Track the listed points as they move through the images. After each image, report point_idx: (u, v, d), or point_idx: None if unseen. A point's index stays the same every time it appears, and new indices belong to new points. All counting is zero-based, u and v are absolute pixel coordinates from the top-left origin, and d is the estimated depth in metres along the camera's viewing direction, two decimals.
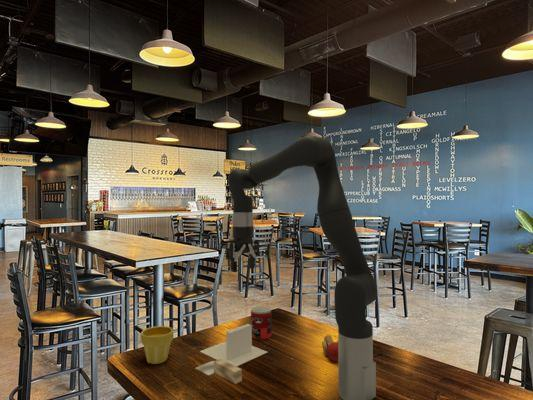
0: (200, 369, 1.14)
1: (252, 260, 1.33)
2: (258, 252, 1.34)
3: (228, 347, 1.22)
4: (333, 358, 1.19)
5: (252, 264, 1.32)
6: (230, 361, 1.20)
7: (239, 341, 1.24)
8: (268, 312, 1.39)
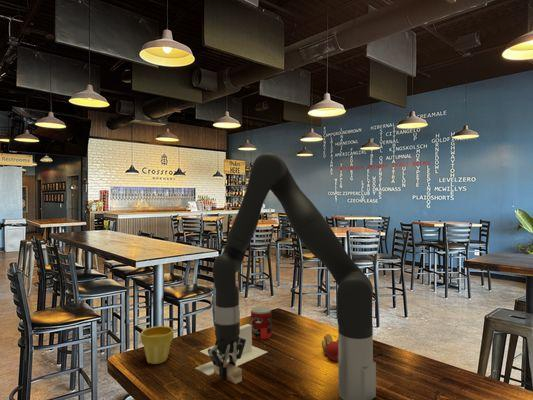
0: (200, 369, 1.14)
1: None
2: (239, 354, 1.12)
3: None
4: (332, 357, 1.20)
5: None
6: None
7: None
8: (268, 312, 1.39)
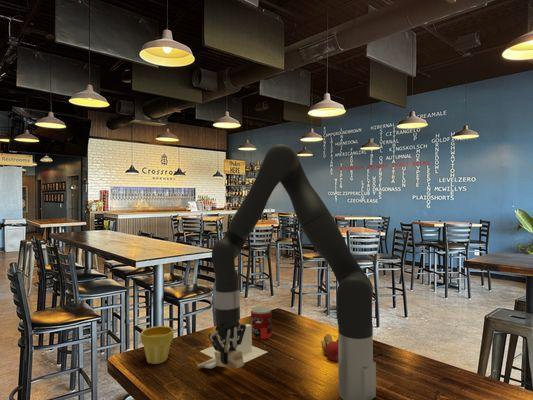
0: (202, 364, 1.14)
1: None
2: (239, 340, 1.11)
3: (228, 347, 1.22)
4: (332, 357, 1.20)
5: None
6: None
7: None
8: (268, 312, 1.39)
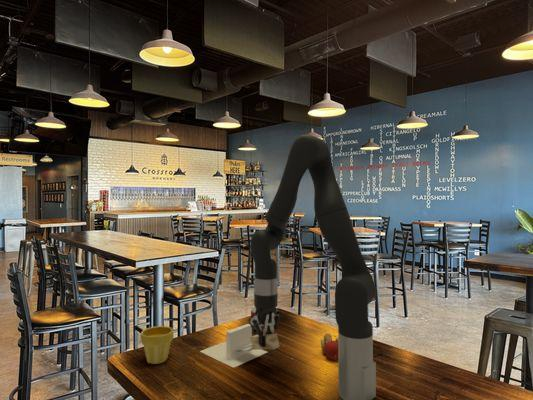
0: (239, 349, 1.21)
1: None
2: (276, 325, 1.18)
3: (228, 347, 1.22)
4: (330, 356, 1.21)
5: None
6: (230, 361, 1.20)
7: (239, 341, 1.24)
8: None
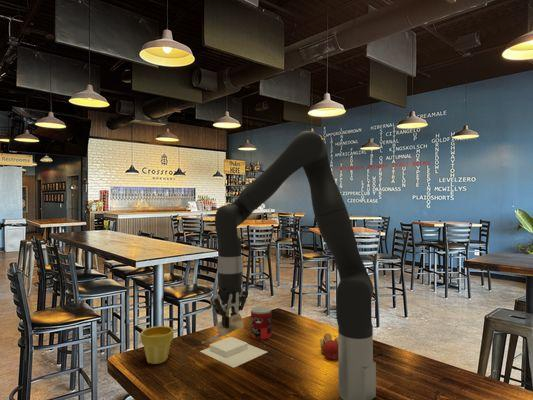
0: None
1: None
2: (241, 306, 1.13)
3: (218, 351, 1.25)
4: (329, 355, 1.21)
5: None
6: (230, 361, 1.20)
7: (225, 344, 1.29)
8: (268, 312, 1.39)
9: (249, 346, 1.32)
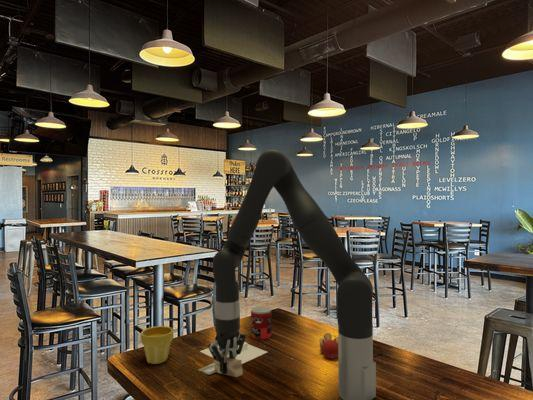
0: (201, 369, 1.14)
1: None
2: (239, 350, 1.12)
3: None
4: (328, 355, 1.22)
5: None
6: None
7: None
8: (268, 312, 1.39)
9: (249, 346, 1.32)
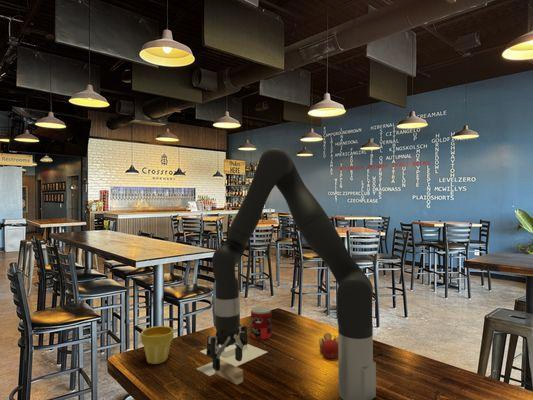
0: (201, 370, 1.14)
1: (238, 351, 1.12)
2: (246, 341, 1.14)
3: None
4: (327, 354, 1.22)
5: (239, 356, 1.12)
6: (230, 361, 1.20)
7: None
8: (268, 312, 1.39)
9: (249, 346, 1.32)
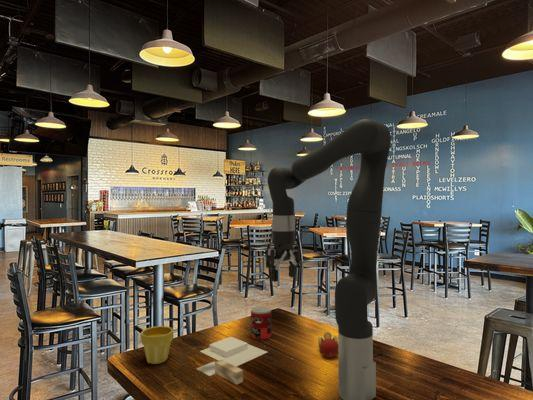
0: (201, 370, 1.14)
1: (292, 268, 1.20)
2: (299, 259, 1.22)
3: (218, 351, 1.25)
4: (326, 354, 1.22)
5: (292, 272, 1.20)
6: (230, 361, 1.20)
7: (225, 344, 1.29)
8: (268, 312, 1.39)
9: (249, 346, 1.32)
